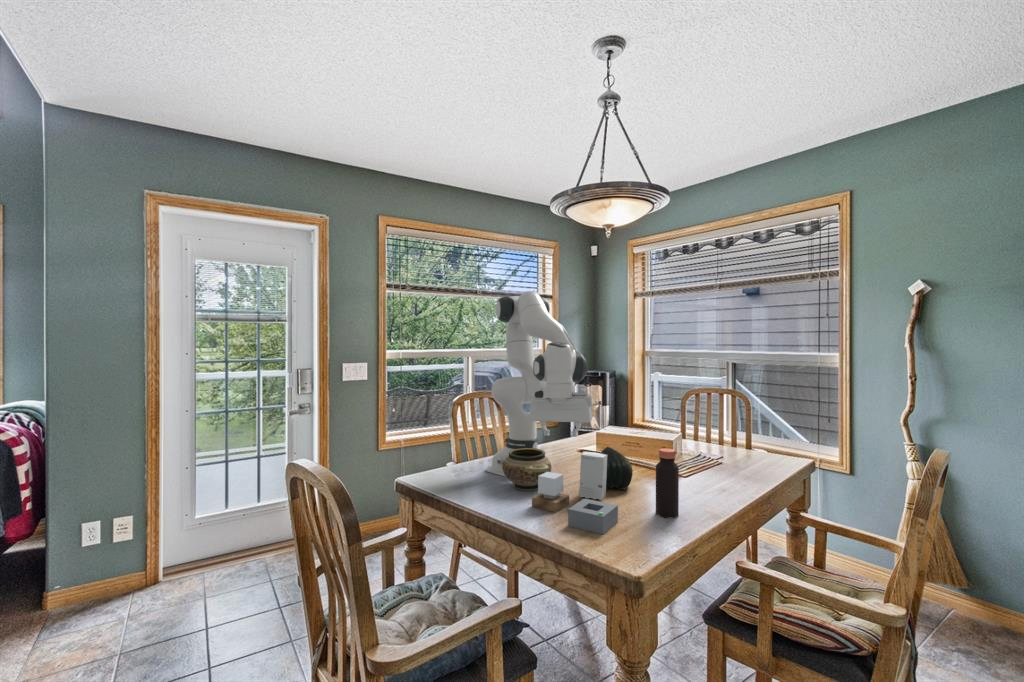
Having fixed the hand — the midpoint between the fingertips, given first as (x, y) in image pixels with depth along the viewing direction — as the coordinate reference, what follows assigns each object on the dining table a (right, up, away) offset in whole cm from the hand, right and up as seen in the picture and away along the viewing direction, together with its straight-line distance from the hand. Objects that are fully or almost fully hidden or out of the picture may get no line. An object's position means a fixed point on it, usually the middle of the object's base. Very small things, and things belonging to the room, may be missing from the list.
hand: (560, 436), depth 157 cm
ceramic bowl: (-10, -24, +24) cm, 35 cm away
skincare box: (+12, -24, +13) cm, 30 cm away
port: (+8, -24, -12) cm, 28 cm away
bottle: (+33, -24, -4) cm, 41 cm away
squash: (+21, -24, +24) cm, 39 cm away
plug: (-3, -24, +4) cm, 24 cm away
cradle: (-3, -23, +4) cm, 24 cm away
